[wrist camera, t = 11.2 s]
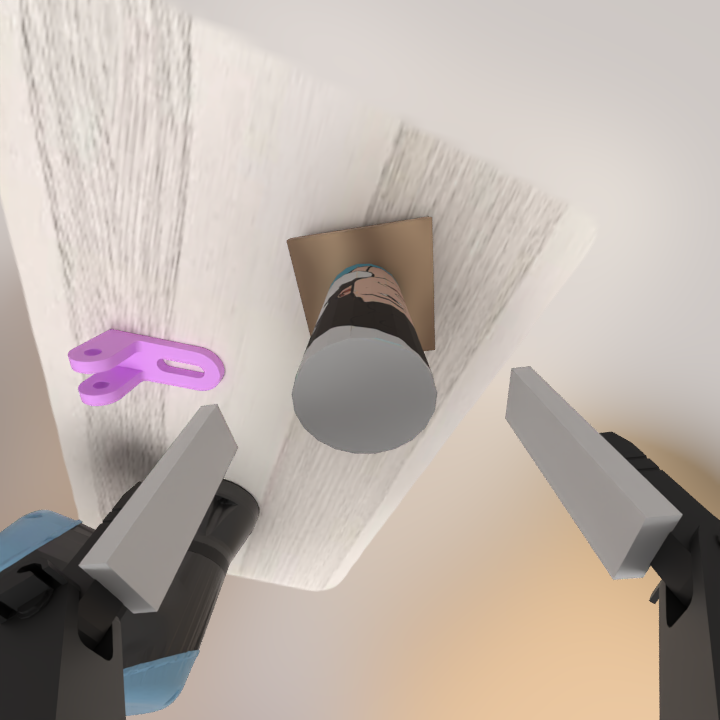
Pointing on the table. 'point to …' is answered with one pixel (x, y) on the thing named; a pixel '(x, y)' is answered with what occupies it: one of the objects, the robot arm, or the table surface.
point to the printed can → (364, 367)
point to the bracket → (139, 365)
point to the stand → (371, 246)
